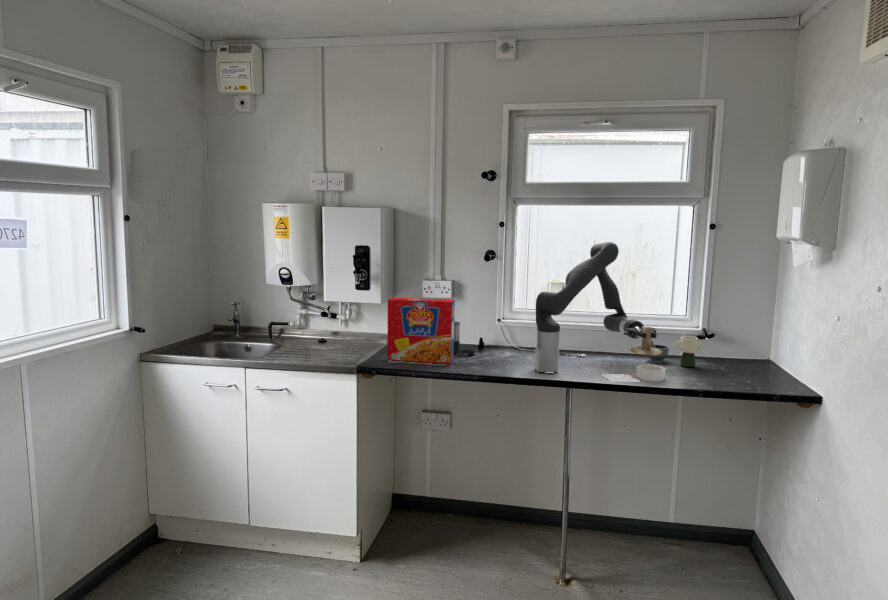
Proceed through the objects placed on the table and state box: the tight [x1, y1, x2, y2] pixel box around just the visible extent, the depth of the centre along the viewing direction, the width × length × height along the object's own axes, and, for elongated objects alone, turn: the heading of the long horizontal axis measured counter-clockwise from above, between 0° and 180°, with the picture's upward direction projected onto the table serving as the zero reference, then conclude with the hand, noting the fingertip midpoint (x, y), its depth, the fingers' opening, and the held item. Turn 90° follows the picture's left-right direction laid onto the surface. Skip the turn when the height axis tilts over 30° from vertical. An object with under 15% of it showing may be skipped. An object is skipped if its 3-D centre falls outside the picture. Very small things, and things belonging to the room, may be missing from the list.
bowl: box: [636, 364, 666, 382], centre depth 226 cm, size 10×10×4 cm
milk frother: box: [454, 320, 477, 355], centre depth 265 cm, size 14×16×15 cm
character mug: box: [675, 335, 703, 368], centre depth 247 cm, size 11×7×13 cm, turn 80°
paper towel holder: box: [629, 326, 662, 356], centre depth 225 cm, size 12×12×10 cm
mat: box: [622, 372, 638, 379], centre depth 225 cm, size 13×14×1 cm
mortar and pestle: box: [647, 339, 670, 364], centre depth 256 cm, size 11×9×12 cm
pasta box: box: [387, 297, 456, 366], centre depth 246 cm, size 28×8×28 cm, turn 80°
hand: (650, 335), depth 222 cm, fingers closed on paper towel holder, 3 cm apart
